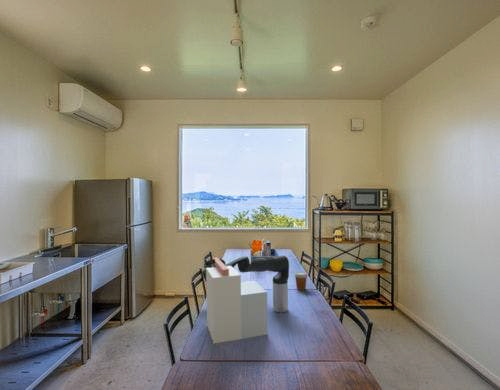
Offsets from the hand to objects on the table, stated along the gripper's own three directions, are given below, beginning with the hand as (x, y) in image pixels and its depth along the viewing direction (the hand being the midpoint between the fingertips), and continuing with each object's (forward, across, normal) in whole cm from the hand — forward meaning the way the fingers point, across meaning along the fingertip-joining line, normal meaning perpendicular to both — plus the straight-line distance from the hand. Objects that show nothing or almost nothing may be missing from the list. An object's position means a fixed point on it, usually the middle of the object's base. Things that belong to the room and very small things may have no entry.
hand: (217, 260), depth 166 cm
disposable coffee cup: (-47, +70, +14) cm, 85 cm away
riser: (-6, +7, +37) cm, 38 cm away
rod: (+5, 0, +6) cm, 8 cm away
